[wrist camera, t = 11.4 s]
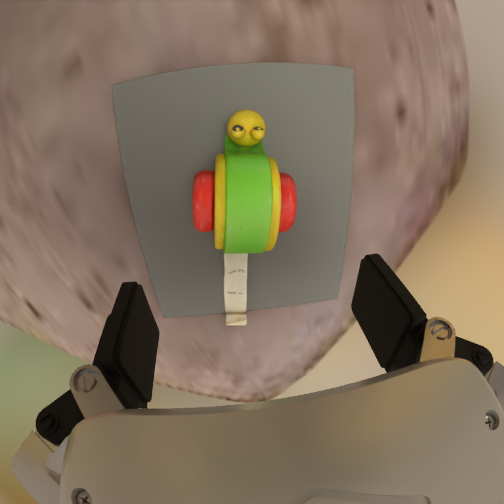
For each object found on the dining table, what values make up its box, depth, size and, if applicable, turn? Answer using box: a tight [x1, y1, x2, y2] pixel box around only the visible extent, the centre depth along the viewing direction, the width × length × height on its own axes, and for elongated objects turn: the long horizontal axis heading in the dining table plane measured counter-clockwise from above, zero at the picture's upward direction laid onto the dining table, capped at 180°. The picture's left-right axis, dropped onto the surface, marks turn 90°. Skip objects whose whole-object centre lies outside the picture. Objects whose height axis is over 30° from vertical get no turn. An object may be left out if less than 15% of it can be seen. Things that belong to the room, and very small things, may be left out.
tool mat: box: [112, 63, 354, 318], centre depth 21 cm, size 18×22×1 cm
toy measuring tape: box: [192, 109, 297, 325], centre depth 20 cm, size 6×19×7 cm, turn 176°
